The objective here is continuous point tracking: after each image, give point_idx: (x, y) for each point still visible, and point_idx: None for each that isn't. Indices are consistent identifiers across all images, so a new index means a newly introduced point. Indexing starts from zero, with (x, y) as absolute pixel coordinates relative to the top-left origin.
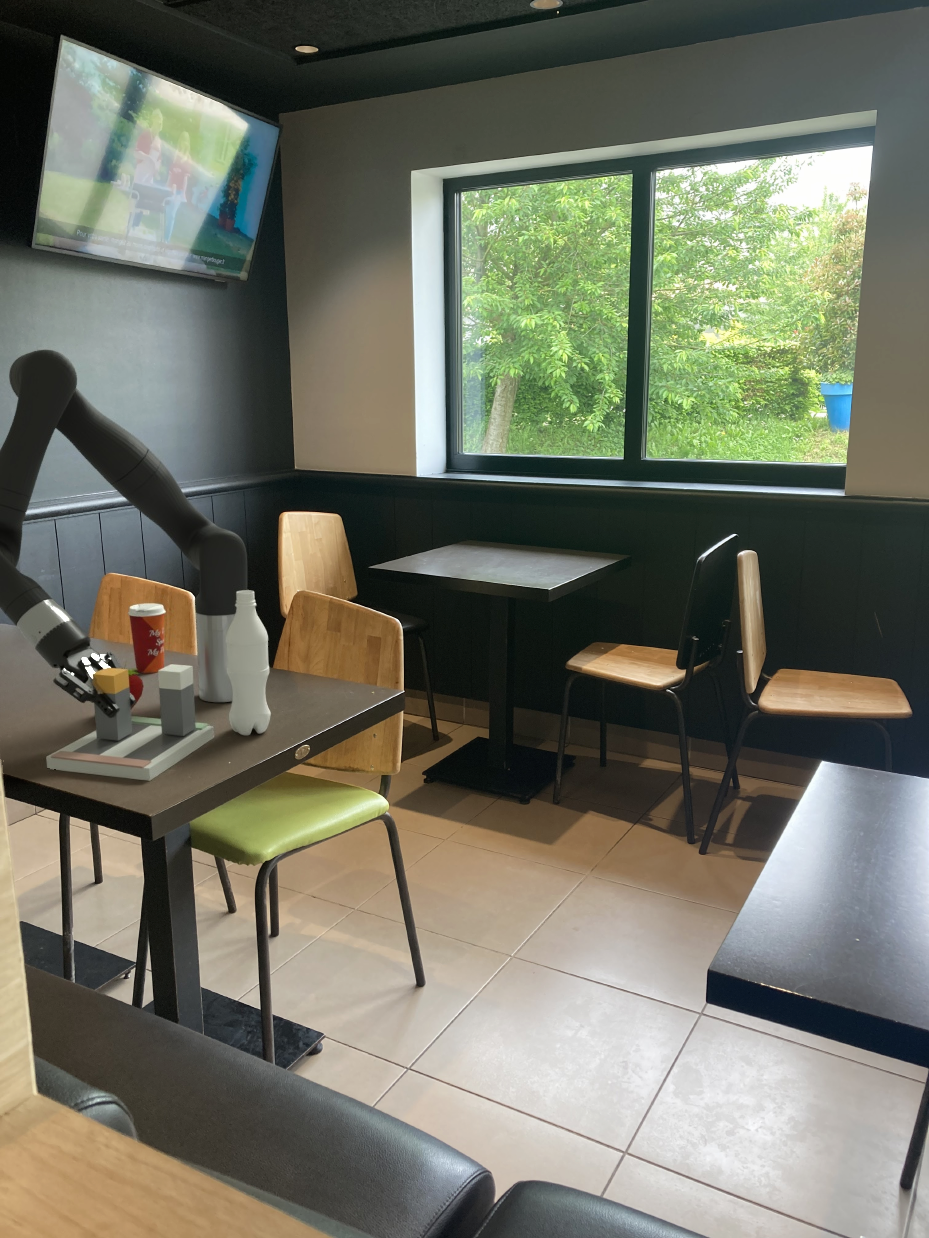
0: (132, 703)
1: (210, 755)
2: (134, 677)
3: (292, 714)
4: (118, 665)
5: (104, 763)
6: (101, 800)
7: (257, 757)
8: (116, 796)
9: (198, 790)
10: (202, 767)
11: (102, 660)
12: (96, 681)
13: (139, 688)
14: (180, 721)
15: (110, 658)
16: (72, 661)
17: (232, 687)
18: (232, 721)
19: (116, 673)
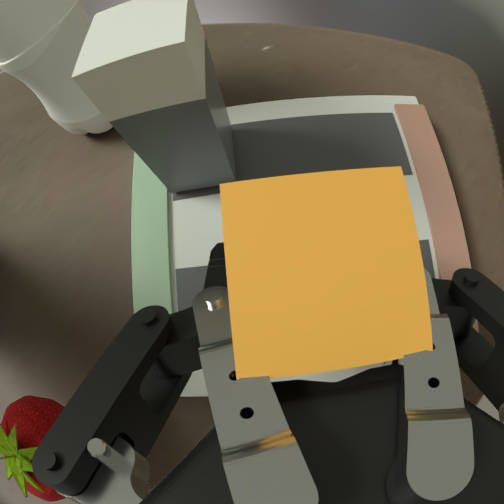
0: None
1: (248, 85)
2: (13, 423)
3: (30, 115)
4: (102, 378)
5: (452, 188)
6: (494, 142)
7: (227, 32)
8: (475, 129)
9: (386, 40)
10: (308, 68)
11: (136, 485)
12: None
13: (35, 398)
14: (225, 110)
15: (95, 441)
16: (502, 494)
17: (63, 68)
18: None
19: (345, 189)
